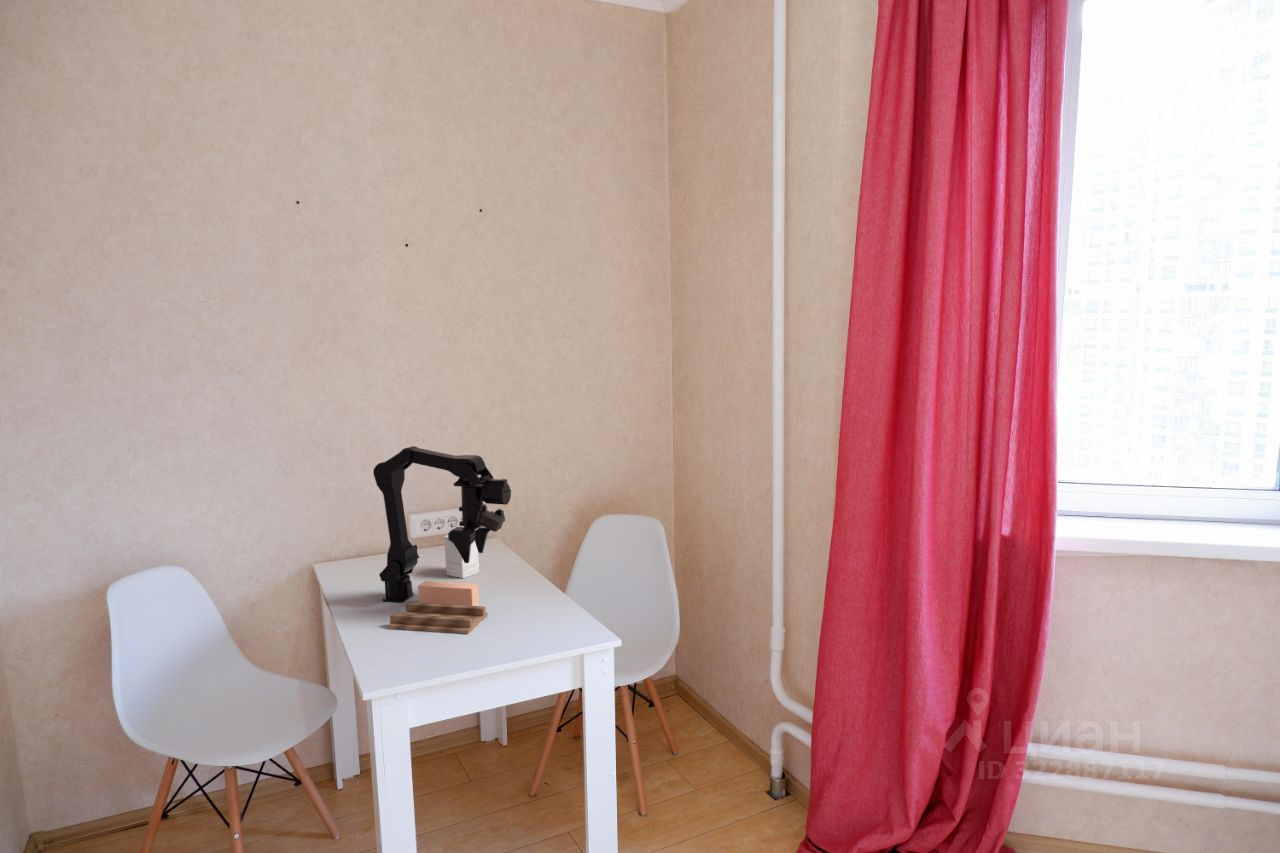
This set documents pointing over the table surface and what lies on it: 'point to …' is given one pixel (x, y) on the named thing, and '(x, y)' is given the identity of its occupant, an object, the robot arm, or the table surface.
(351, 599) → the table surface
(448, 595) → the peach rectangular block
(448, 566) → the supplement box
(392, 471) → the robot arm
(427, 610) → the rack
